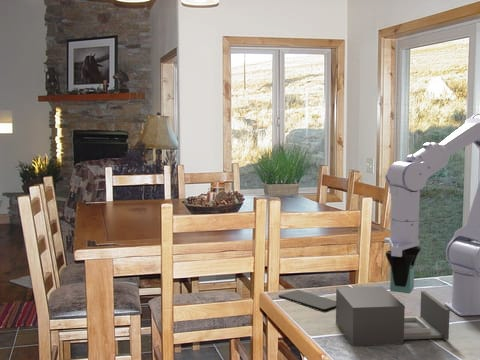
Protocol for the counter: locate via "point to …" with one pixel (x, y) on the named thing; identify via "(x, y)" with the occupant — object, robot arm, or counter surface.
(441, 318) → the tray
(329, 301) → the smartphone
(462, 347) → the counter surface
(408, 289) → the block
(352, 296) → the dark grey cuboid box
